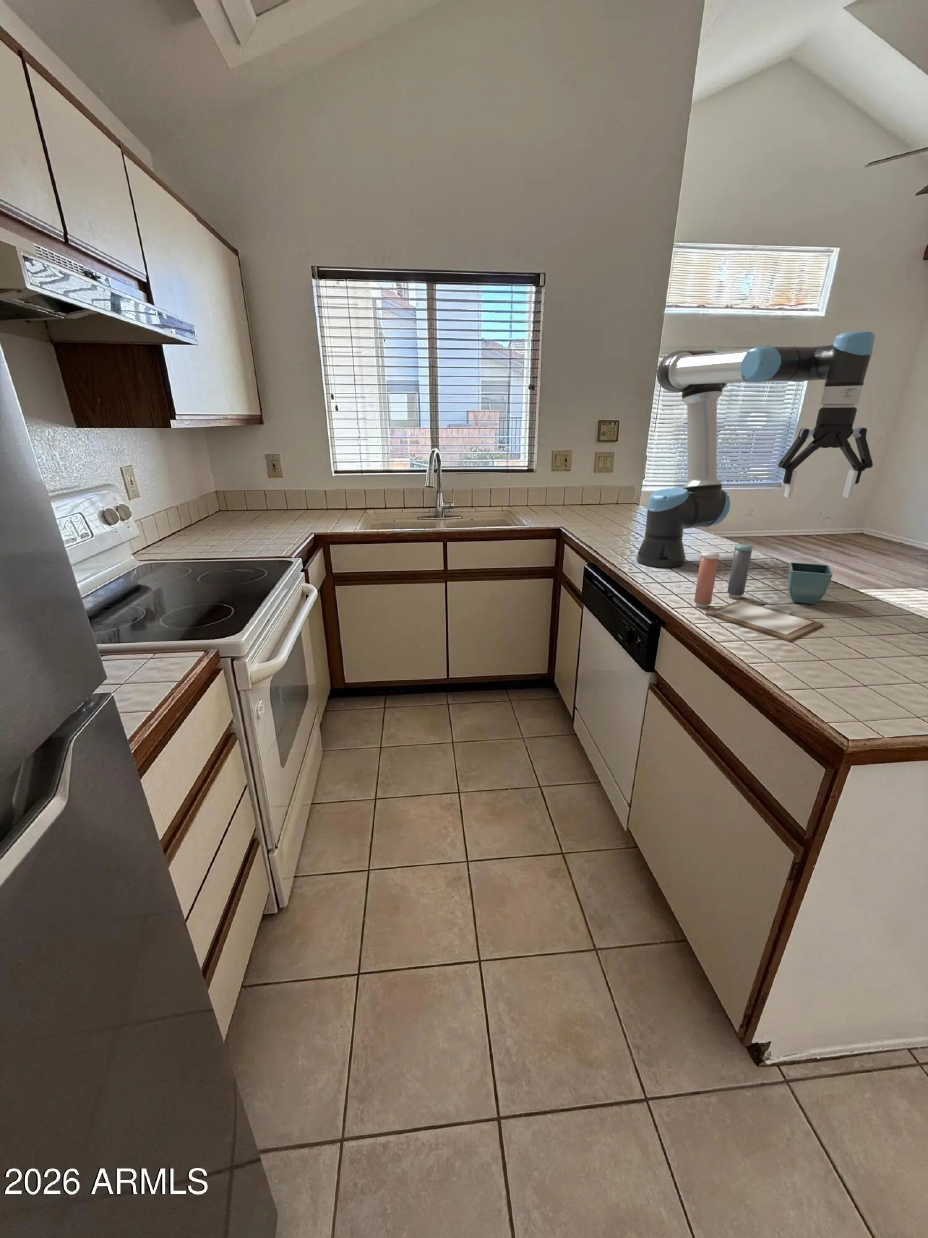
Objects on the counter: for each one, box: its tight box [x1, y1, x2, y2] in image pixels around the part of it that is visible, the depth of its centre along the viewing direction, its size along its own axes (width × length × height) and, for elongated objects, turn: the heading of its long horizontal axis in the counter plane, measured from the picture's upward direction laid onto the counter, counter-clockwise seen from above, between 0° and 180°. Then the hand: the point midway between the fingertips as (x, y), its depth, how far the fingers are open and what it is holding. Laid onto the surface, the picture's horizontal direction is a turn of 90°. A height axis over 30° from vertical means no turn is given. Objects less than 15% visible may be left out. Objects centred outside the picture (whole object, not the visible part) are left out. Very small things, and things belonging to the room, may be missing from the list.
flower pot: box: [787, 561, 833, 605], centre depth 133 cm, size 9×9×9 cm
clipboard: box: [705, 599, 824, 642], centre depth 123 cm, size 20×15×1 cm
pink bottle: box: [694, 551, 720, 609], centre depth 130 cm, size 4×4×14 cm
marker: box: [727, 543, 754, 600], centre depth 136 cm, size 4×4×14 cm
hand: (816, 497), depth 130 cm, fingers open, 13 cm apart
